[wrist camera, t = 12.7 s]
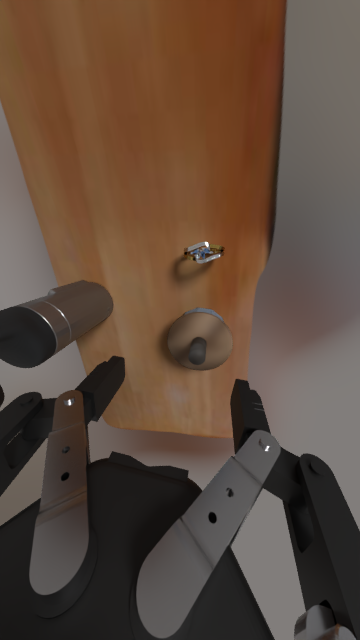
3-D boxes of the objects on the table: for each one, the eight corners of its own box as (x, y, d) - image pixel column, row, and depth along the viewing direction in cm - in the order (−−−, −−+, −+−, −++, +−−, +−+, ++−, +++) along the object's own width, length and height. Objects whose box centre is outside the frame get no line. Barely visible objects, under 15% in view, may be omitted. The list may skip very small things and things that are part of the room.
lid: (156, 344, 40) (147, 360, 35) (192, 298, 35) (188, 308, 30) (204, 378, 41) (203, 398, 36) (246, 338, 36) (252, 355, 31)
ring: (186, 258, 37) (179, 262, 30) (187, 240, 36) (180, 240, 29) (221, 260, 36) (223, 265, 29) (224, 242, 35) (226, 243, 28)
